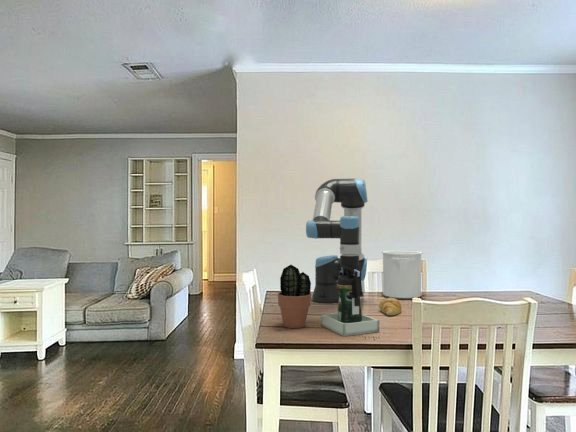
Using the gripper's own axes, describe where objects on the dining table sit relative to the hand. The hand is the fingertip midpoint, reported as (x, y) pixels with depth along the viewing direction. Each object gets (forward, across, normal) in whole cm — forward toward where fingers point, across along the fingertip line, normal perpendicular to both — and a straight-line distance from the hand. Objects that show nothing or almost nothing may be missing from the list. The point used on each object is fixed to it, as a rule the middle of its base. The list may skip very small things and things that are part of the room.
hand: (349, 311), depth 187 cm
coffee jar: (+4, 0, 0) cm, 4 cm away
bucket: (+7, -49, +63) cm, 80 cm away
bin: (+7, 0, 0) cm, 7 cm away
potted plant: (+7, -14, -18) cm, 24 cm away
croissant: (+7, -19, +33) cm, 39 cm away
